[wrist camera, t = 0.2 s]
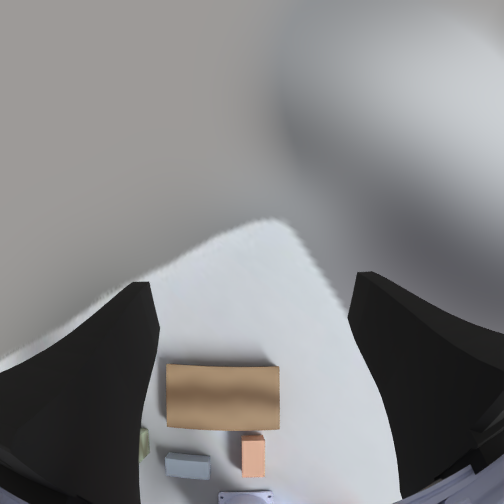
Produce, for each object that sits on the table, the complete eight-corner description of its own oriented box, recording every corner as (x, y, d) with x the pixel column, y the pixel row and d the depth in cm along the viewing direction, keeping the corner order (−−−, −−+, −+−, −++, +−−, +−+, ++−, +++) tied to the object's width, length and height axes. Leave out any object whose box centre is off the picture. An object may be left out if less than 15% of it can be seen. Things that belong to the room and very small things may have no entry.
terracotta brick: (262, 469, 32) (264, 476, 29) (241, 469, 32) (242, 477, 29) (262, 434, 34) (265, 440, 31) (241, 435, 34) (242, 440, 31)
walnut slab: (276, 425, 34) (279, 429, 32) (170, 422, 33) (167, 426, 31) (276, 366, 38) (279, 366, 35) (170, 363, 37) (166, 364, 34)
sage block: (149, 452, 31) (137, 465, 26) (124, 448, 31) (109, 459, 25) (148, 429, 33) (135, 439, 27) (123, 425, 32) (107, 433, 27)
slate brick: (210, 455, 32) (208, 462, 29) (210, 472, 31) (209, 479, 28) (169, 451, 32) (164, 458, 29) (170, 468, 31) (166, 475, 28)
